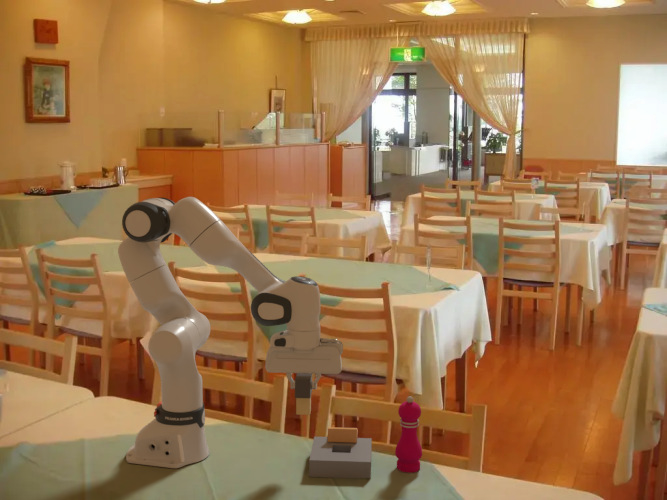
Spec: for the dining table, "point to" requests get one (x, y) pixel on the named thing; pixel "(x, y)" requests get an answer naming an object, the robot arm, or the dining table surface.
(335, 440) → the block
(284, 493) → the dining table surface
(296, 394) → the plug
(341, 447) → the socket block
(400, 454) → the pepper mill
